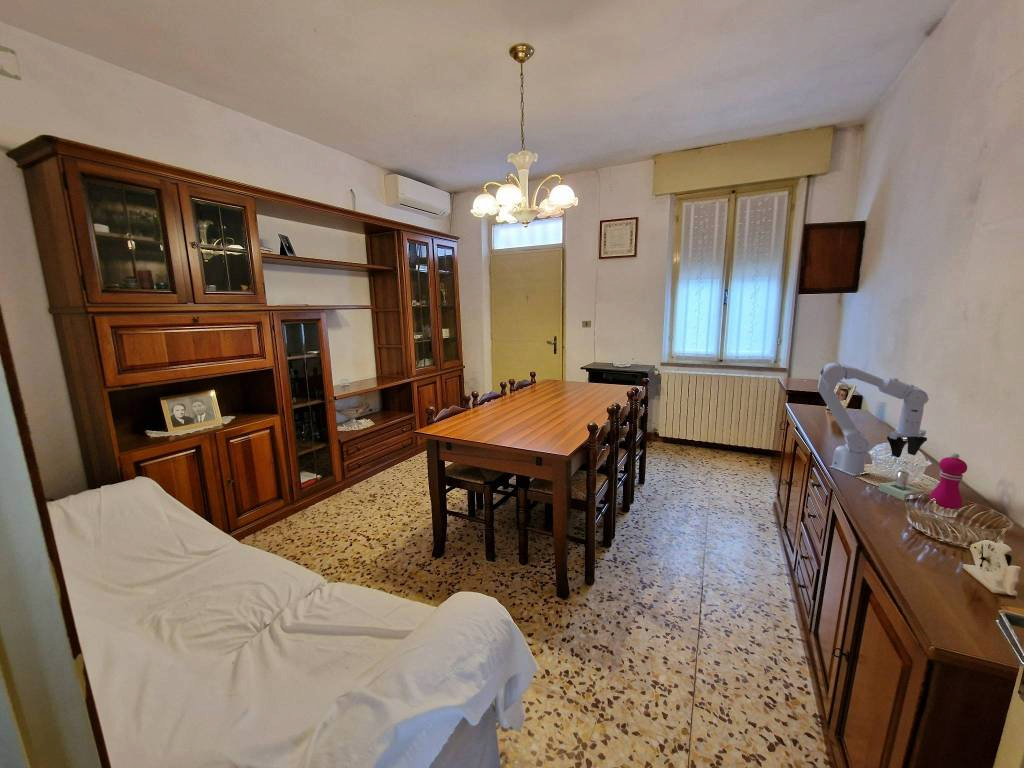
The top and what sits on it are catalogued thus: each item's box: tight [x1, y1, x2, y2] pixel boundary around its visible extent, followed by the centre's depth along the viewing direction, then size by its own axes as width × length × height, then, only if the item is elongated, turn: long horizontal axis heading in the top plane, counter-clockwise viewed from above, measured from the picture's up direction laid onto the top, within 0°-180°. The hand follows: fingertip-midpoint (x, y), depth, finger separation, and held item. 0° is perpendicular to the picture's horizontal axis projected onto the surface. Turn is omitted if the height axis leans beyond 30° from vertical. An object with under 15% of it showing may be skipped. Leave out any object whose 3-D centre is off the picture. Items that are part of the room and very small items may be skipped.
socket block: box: [877, 480, 924, 502], centre depth 144 cm, size 8×8×2 cm
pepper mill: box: [929, 452, 968, 509], centre depth 129 cm, size 7×7×20 cm
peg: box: [895, 470, 910, 491], centre depth 143 cm, size 3×3×8 cm
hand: (903, 455), depth 153 cm, fingers open, 7 cm apart
